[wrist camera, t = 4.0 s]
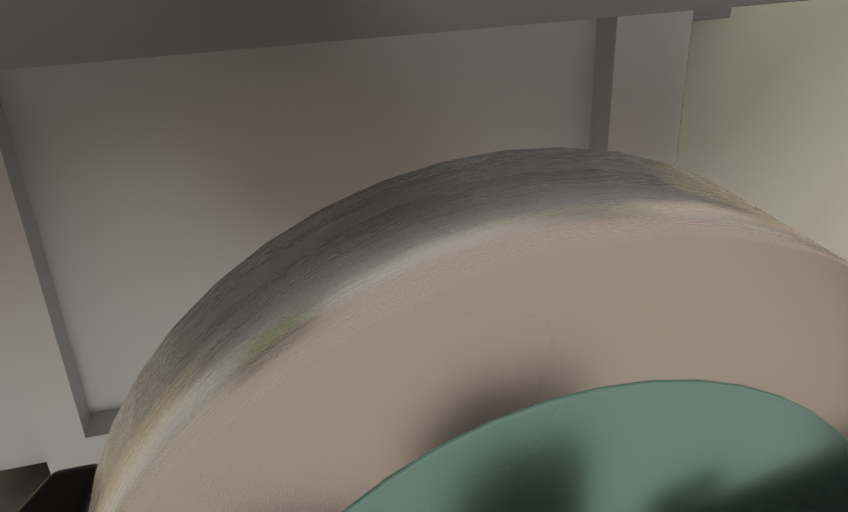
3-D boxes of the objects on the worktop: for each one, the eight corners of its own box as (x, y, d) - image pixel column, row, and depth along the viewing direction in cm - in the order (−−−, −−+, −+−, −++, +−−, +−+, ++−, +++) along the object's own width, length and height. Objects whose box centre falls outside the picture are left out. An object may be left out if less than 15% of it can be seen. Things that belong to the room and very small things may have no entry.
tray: (759, -174, 15) (919, -188, 12) (682, 374, 21) (774, 468, 17) (-331, -141, 11) (-553, -149, 8) (-52, 521, 17) (-111, 677, 14)
